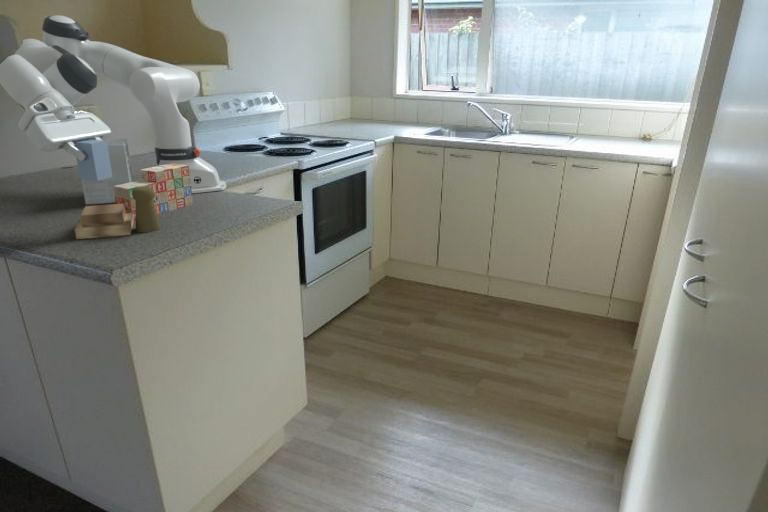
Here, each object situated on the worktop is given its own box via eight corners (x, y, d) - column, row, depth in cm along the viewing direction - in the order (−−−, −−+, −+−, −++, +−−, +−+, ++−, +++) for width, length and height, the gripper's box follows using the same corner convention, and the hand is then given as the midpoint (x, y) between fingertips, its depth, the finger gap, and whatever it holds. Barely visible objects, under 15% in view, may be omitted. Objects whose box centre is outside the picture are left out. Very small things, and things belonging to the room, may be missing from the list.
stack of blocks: (133, 222, 141) (126, 177, 137) (117, 218, 144) (110, 174, 140) (193, 204, 159) (189, 164, 155) (179, 202, 162) (174, 162, 158)
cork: (132, 228, 136) (125, 186, 132) (155, 223, 140) (149, 183, 136) (141, 233, 132) (134, 191, 128) (164, 229, 136) (159, 187, 132)
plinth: (133, 221, 142) (130, 201, 140) (130, 234, 131) (127, 213, 129) (83, 225, 138) (79, 205, 136) (76, 239, 127) (72, 217, 125)
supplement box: (135, 192, 172) (127, 138, 166) (133, 201, 161) (124, 144, 155) (90, 194, 168) (80, 139, 162) (85, 205, 156) (73, 146, 150)
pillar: (95, 175, 133) (89, 139, 129) (112, 176, 131) (106, 140, 128) (80, 179, 128) (73, 142, 125) (97, 180, 127) (91, 143, 124)
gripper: (81, 118, 137) (118, 157, 138) (11, 127, 119) (55, 172, 120) (92, 101, 135) (130, 141, 136) (23, 107, 116) (68, 154, 117)
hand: (95, 156), depth 128 cm, fingers closed on pillar, 5 cm apart
